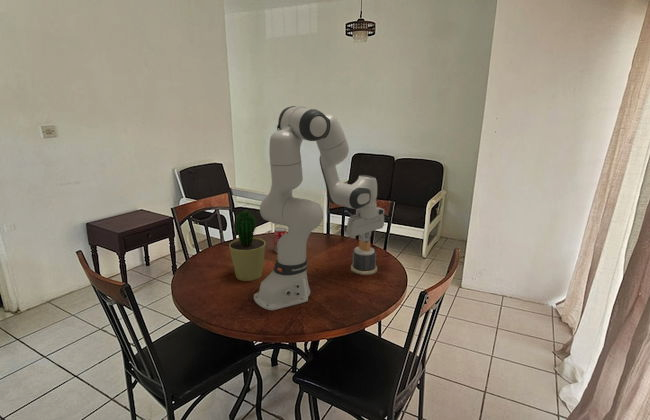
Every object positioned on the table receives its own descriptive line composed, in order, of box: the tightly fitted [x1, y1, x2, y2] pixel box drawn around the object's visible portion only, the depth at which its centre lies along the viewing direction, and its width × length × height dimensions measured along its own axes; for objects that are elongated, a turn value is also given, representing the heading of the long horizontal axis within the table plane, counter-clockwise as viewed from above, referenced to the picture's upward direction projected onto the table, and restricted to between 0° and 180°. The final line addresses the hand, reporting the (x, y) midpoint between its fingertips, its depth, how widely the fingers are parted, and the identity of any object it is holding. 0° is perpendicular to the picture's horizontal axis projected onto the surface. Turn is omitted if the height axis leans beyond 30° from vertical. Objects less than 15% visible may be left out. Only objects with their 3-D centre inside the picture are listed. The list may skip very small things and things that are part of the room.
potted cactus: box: [228, 210, 267, 282], centre depth 157 cm, size 15×15×30 cm
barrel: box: [350, 250, 378, 276], centre depth 167 cm, size 12×12×8 cm
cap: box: [353, 239, 376, 256], centre depth 165 cm, size 9×9×8 cm
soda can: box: [273, 227, 288, 253], centre depth 187 cm, size 7×7×12 cm
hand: (365, 241), depth 164 cm, fingers closed, pressing on cap
